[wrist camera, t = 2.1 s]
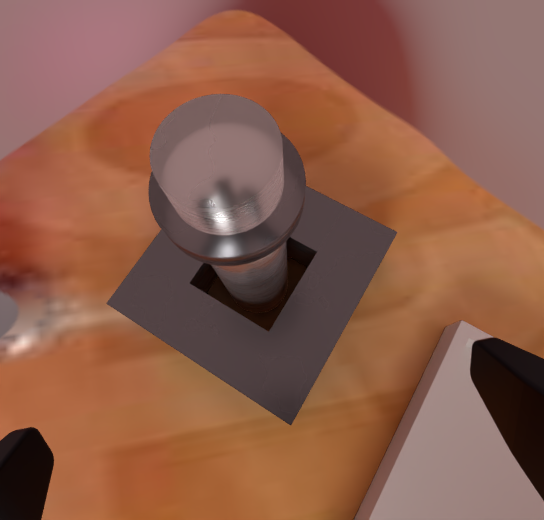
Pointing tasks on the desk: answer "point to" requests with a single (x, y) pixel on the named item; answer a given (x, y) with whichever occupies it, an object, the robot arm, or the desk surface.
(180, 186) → the steel pin
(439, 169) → the desk surface
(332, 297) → the hitch block
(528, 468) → the robot arm
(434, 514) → the tray
